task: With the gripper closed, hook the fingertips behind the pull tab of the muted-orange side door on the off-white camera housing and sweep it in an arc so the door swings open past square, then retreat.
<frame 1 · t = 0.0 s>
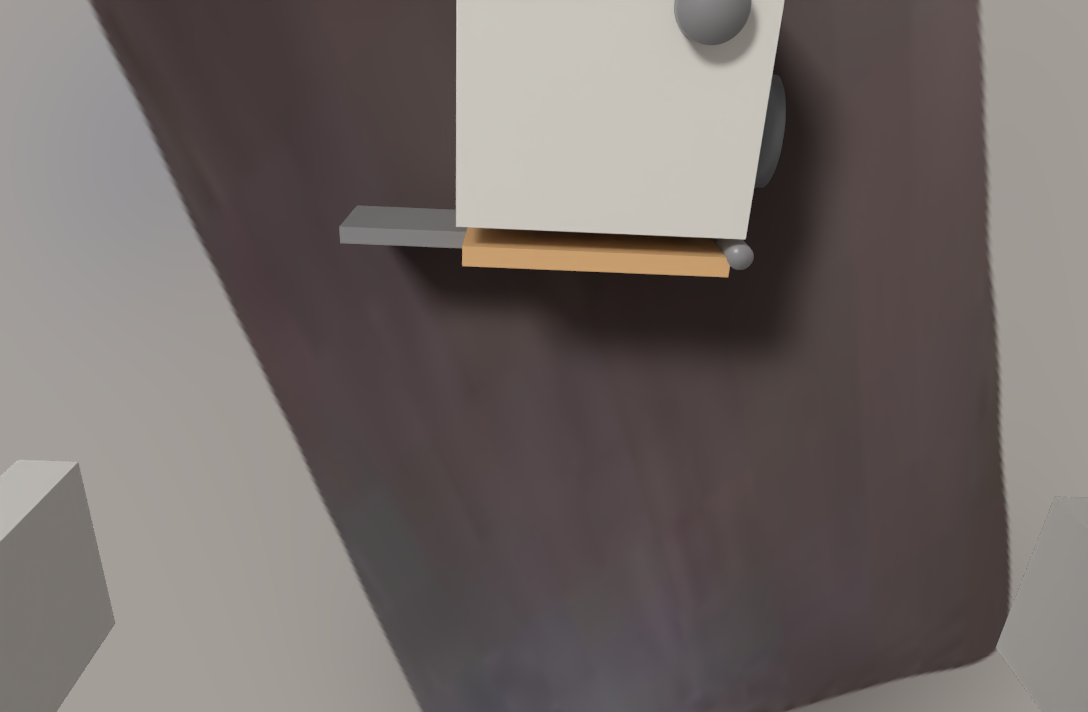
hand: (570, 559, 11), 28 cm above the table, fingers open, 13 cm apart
door: (539, 228, 33), point 4 cm above the table, hinge at 0.0°
housing: (595, 74, 35), on the table
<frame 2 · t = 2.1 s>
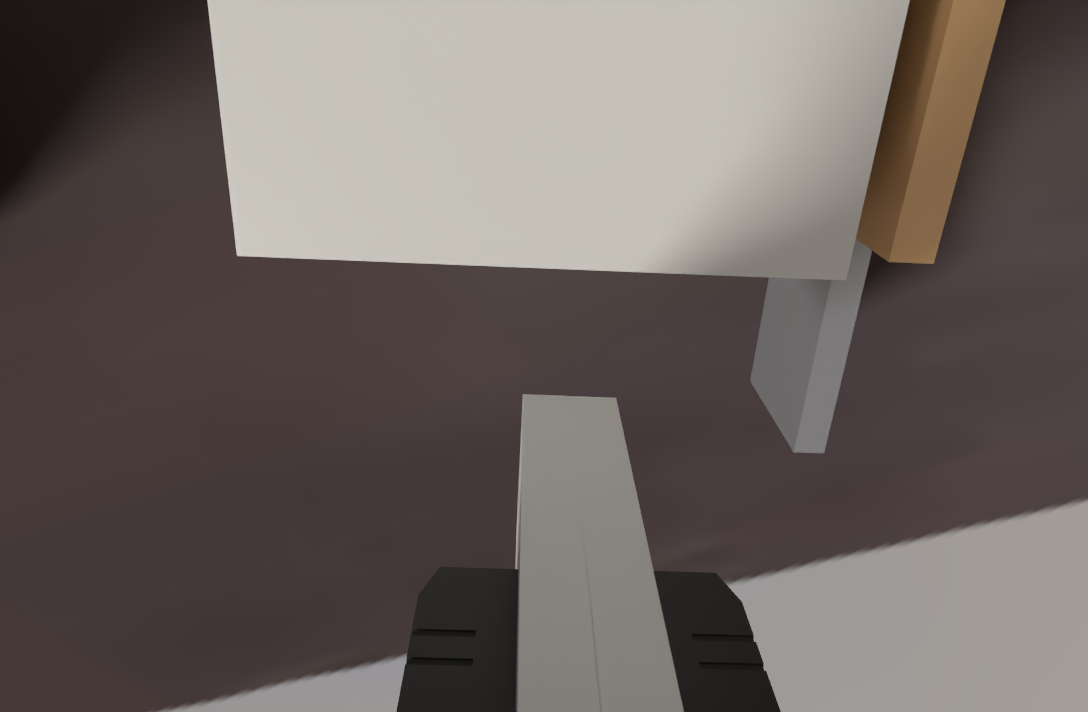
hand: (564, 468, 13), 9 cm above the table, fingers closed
door: (853, 59, 15), point 4 cm above the table, hinge at 0.0°
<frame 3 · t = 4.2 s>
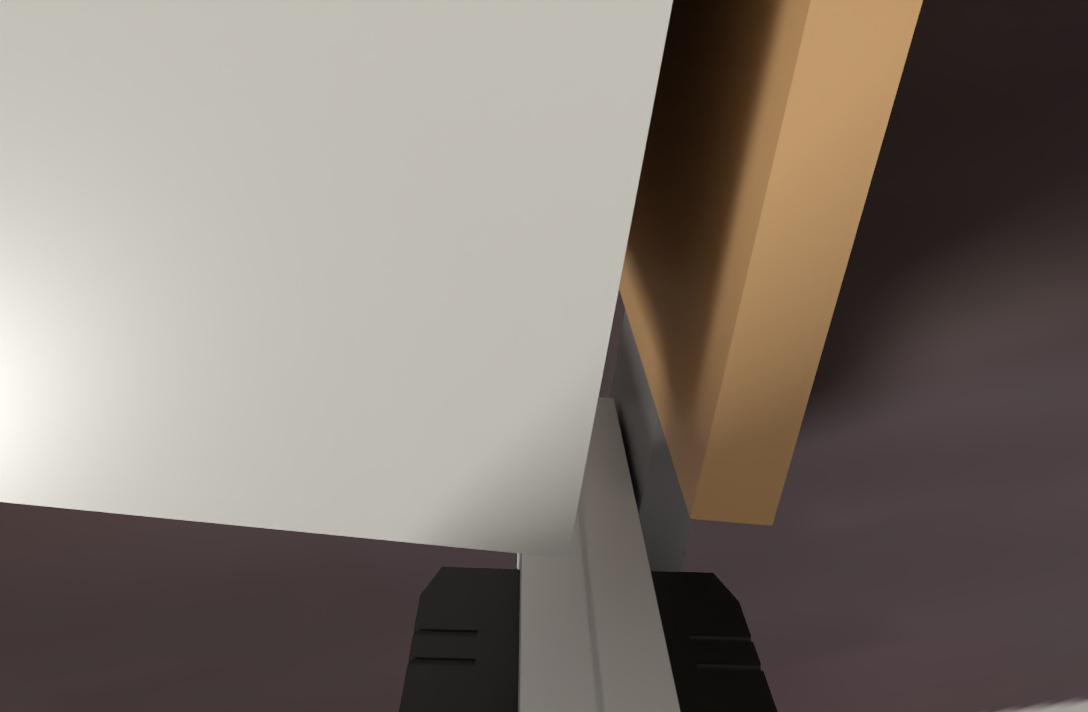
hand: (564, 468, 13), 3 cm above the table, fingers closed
door: (691, 134, 9), point 4 cm above the table, hinge at 1.5°, touching gripper
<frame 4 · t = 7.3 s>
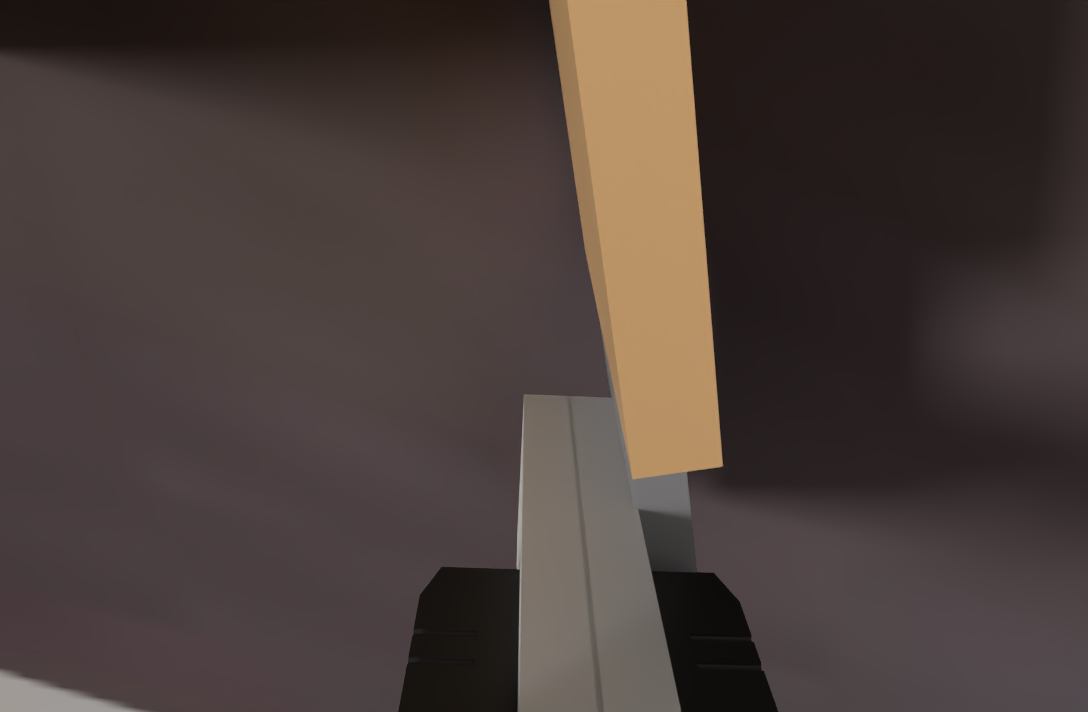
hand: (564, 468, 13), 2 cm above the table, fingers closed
door: (575, 81, 9), point 4 cm above the table, hinge at 52.5°, touching gripper
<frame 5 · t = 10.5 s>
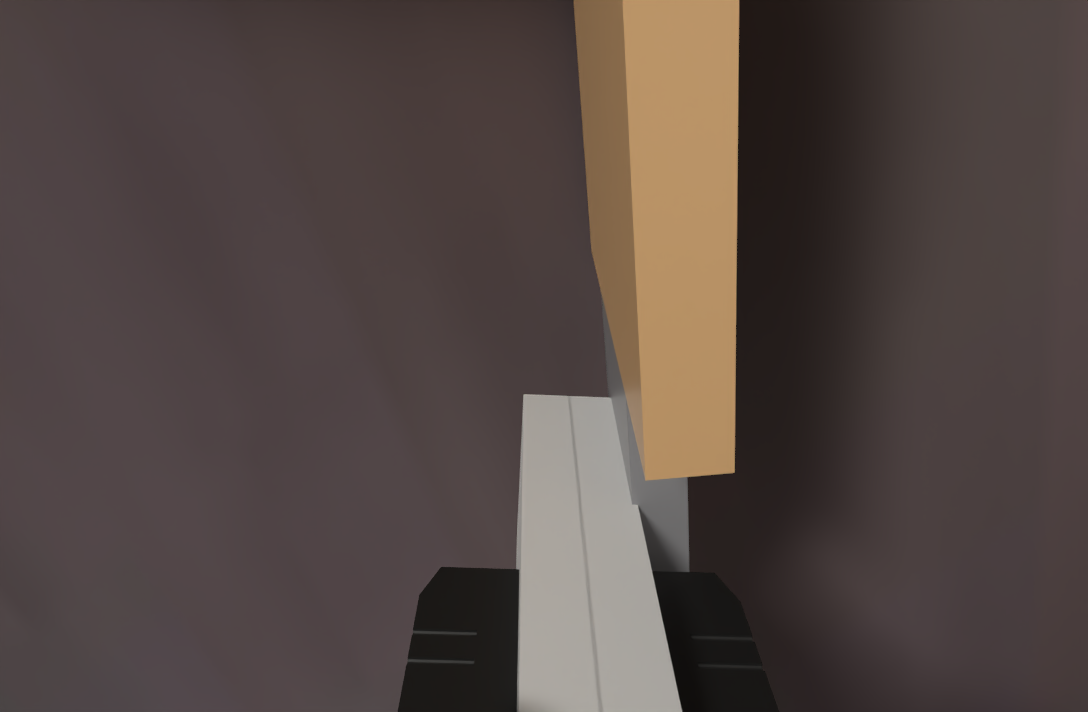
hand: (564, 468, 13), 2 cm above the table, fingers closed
door: (603, 83, 9), point 4 cm above the table, hinge at 98.4°, touching gripper
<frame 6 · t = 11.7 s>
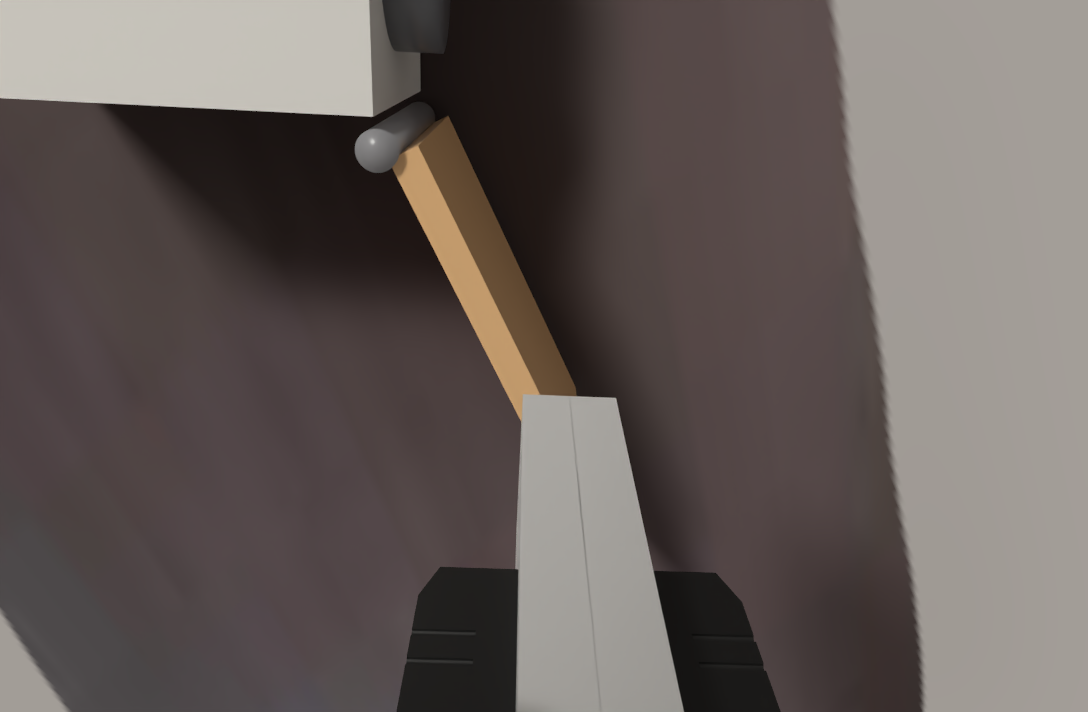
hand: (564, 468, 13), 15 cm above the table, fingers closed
door: (522, 362, 24), point 4 cm above the table, hinge at 116.6°
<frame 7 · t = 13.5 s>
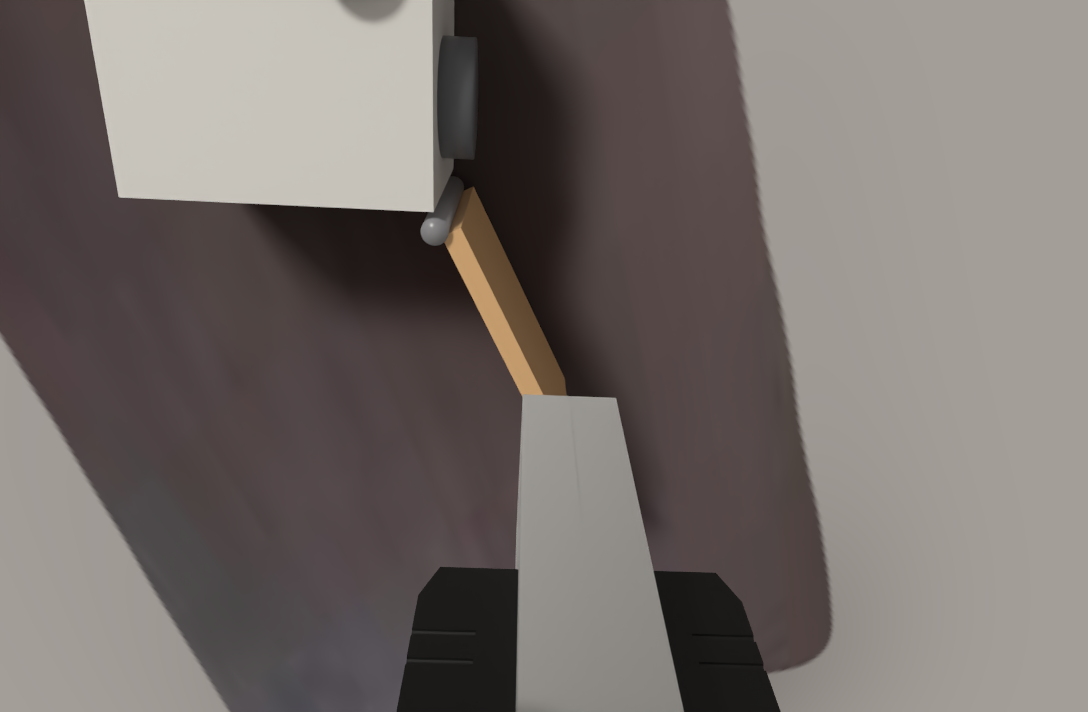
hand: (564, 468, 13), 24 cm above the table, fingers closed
door: (526, 362, 35), point 4 cm above the table, hinge at 116.6°
housing: (322, 41, 33), on the table
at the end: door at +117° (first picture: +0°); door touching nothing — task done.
